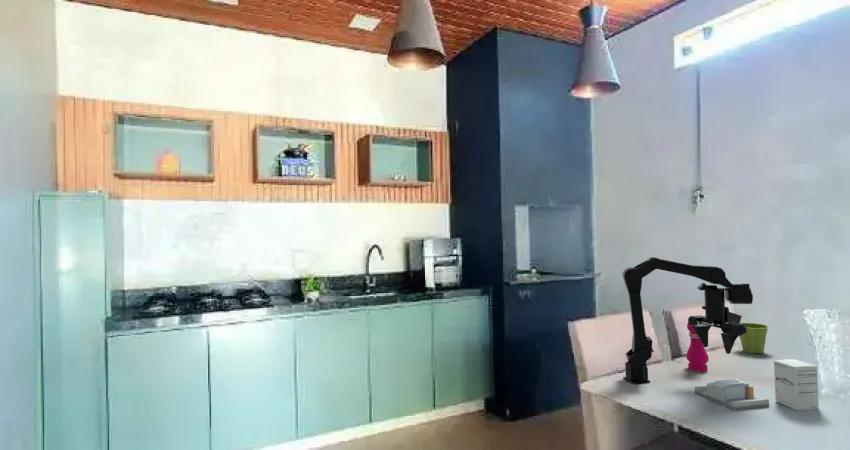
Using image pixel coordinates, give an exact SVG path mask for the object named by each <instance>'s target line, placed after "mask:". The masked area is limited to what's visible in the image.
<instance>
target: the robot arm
mask: <svg viewBox="0 0 850 450" xmlns="http://www.w3.org/2000/svg"><path fill="white" fill-rule="evenodd" d="M655 270H659V271H660V270H661V271H666V272H670V273H675V274H681V275H685V276H690V277H694V278H696V279H699V280H702V281H704V282H701V284H700V285H699V286H698V287H696V288H697V290H699V291H703V293H704V305H702V306H701V309H702V310H704V311H705V312H704V313H705V314H704V315H701V314H700V315H689V317H688V319H687V324H690V325H691V327H693V329H694V330H695V332H696V333H697V335H698V337H699V338H700V340H701V342H702V344H703V345H704V348H708V346H709V331H710V329H711V328H712V327H713V328H717V329H720V331H722V332H720V336H721V339H722V343H723V347H724V350H725V353H726V354H731V352H732V349H733V347H734V344H735V341H736V340H737V338H740V336H741V335H743V334H745V333H746V326H745V325H744V324H740V323H741V321H742V315H741V314H737V313H735V312H732V311H730V308H729V307H728V306H726V301H727V302H728V303H729V304H730V305H752V304H753V300H754V295H753V293H752V289H751V287H750V285H751V284H749V283H743V282H742V283H732V282H731V281H730V280H729V279H728V278H727V276H726V271H725V270H724V269H723V268H722V267H718V266H714V265H704V264H703V265H695V264H694V265H693V264H686V263H684V262H683V263H682V262H676V261H672V260H666V259H662V258H658V257H655V256H651V257H649V258H648V259H646V260H644V261H643V262H641V263H639V264H637V265H635V266H634V267H633V266H632V267H631V266H629V267H626V268H625V269H624V270H622V279H623V283H624V286H625V288H626V291H627V293H628V299H629V300H628V301H629V309H630V310H629V311H630V316H631V325H632V331H633V332H632V339H631V349H629V350H628V351H627V352H625V356H626V357H625V358H627V361H626V362H625V363H624V365H625V366H624V369H625V376H623V377H622V379H624V380H626V381H627V382H630V383H631V384H635V385H637V384H646V383H651V380H650V379H649V369H648V367H647V361H649V360H650V359H651V358H652V356H653V353H654V349H653V339H652V338H651V337H650V336H647V335H646V327H645V322H644V321H645V320H644V314H643V312H644V311H643V306H642V296H641V291H642V285H643V284H642V283H643V282H642V281H643V278H645V277H646V276H648V275H649V274H651V273H652V272H654V271H655ZM705 282H706V283H707V282H708V283H710V284H706V283H705ZM717 285H718V286H721V287H718V286H717Z"/></svg>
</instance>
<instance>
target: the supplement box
mask: <svg viewBox="0 0 850 450" xmlns="http://www.w3.org/2000/svg"><path fill="white" fill-rule="evenodd" d="M773 368H774V391H775V392H774V396H775V399H774V400H775V402H777V403H778V404H782V405H783V406H786V407H789V408H791V409H793V410H795V411H806V410H807V411H810V410H811V411H812V410H820V409H819V407H820V406H819V383H818V379H819V378H818V366H817V365H816V364H815V365H814V364H811V363H807V362H805V361H802V360H798V359H795V358H791V359H789V358H787V359H776V360H774V361H773Z"/></svg>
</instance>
